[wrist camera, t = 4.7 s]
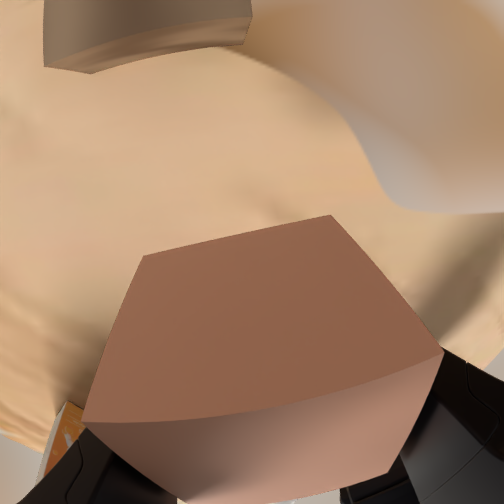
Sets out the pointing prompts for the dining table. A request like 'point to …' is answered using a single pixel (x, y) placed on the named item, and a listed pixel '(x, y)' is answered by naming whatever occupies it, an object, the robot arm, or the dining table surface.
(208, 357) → the terracotta cube
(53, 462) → the small box
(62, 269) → the dining table surface
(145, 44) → the walnut block
